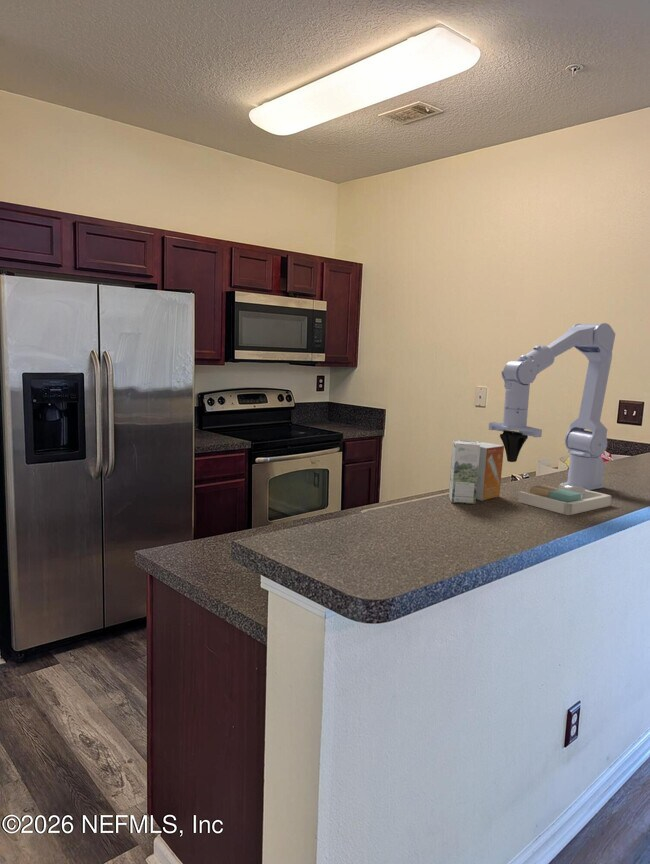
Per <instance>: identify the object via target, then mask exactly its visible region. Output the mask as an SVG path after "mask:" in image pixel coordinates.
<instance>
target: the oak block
mask: <svg viewBox="0 0 650 864" xmlns="http://www.w3.org/2000/svg"><path fill="white" fill-rule="evenodd" d="M554 490H559V489H558V488H557V487H554V486H549V485H544V484H540V485H535V486H534V485H533V486H530V488H529V493H531V494H535V495H539V496H543V497H547V498H549V492H550V491H554Z"/></svg>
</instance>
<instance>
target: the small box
mask: <svg viewBox="0 0 650 864" xmlns="http://www.w3.org/2000/svg"><path fill="white" fill-rule="evenodd" d="M478 443H479V444H480V456H479V467H478V479H477V491H476V499H477V500H478V501H486V500H491V499H494V498H499V497H500V494H501V493H500V492H501V481H502V472H503V471H502V470H503V462H504V460H503V459H504V450H505V447H504V444H502V445H501V444H497V443H491V442H484V441H482V442H478ZM477 500H476V501H477Z"/></svg>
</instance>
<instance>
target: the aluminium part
mask: <svg viewBox="0 0 650 864" xmlns="http://www.w3.org/2000/svg"><path fill="white" fill-rule="evenodd" d="M563 489H564V490H568V491H572V492H576V493H581V500H583V499H584V495H585V487H584V486H582V485H577V484H563Z"/></svg>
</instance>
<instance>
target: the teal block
mask: <svg viewBox="0 0 650 864" xmlns="http://www.w3.org/2000/svg"><path fill="white" fill-rule="evenodd" d="M549 498H551V499H555V500H559V501H563V502H567V503H568V502H573V501H578V500H581V493H576V492H572V491H568V490H564V489H559V490H554V491H550V492H549Z"/></svg>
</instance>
